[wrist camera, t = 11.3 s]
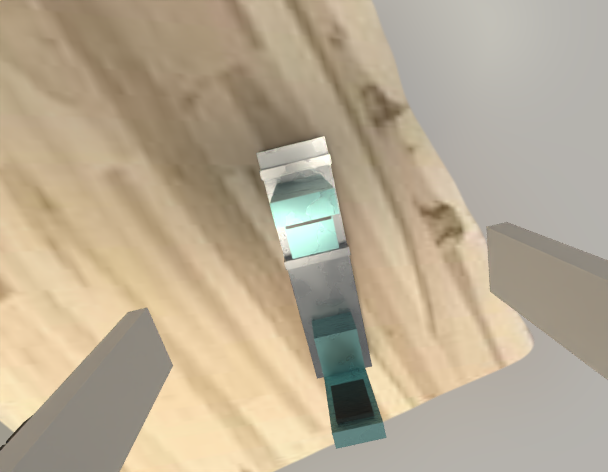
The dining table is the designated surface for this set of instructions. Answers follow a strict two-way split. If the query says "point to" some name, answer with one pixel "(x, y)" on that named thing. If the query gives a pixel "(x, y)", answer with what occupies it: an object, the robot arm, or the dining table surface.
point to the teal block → (306, 214)
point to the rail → (328, 304)
